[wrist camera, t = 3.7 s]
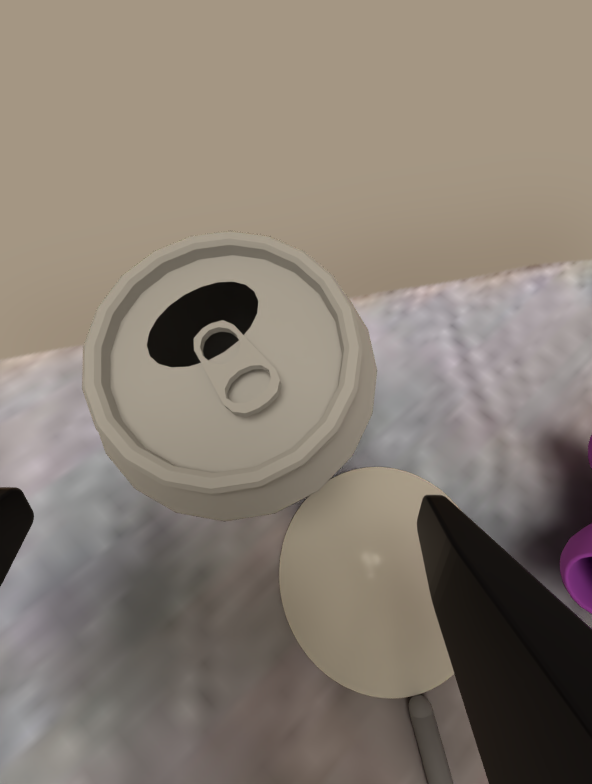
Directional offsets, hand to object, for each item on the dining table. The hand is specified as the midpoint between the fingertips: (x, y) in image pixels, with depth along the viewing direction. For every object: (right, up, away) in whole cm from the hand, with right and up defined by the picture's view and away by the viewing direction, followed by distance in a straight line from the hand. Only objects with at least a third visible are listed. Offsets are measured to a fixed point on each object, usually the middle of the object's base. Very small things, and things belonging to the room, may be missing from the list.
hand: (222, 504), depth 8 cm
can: (0, 0, +11) cm, 11 cm away
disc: (+6, -6, +9) cm, 13 cm away
